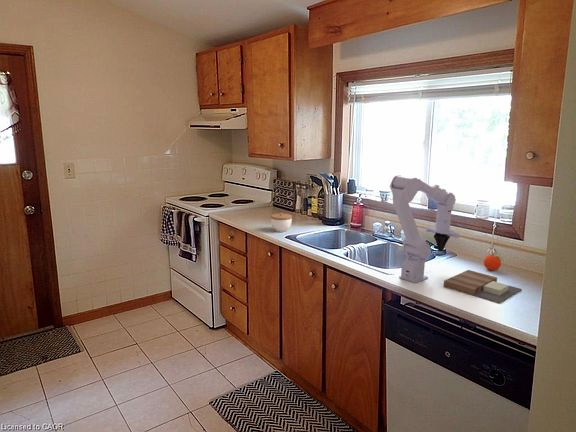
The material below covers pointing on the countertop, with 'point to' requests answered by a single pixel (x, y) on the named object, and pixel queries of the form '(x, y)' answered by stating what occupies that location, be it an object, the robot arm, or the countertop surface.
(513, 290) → the mat
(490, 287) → the tile
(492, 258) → the clementine
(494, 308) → the countertop surface
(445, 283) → the board
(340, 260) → the countertop surface
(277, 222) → the lidded bowl
